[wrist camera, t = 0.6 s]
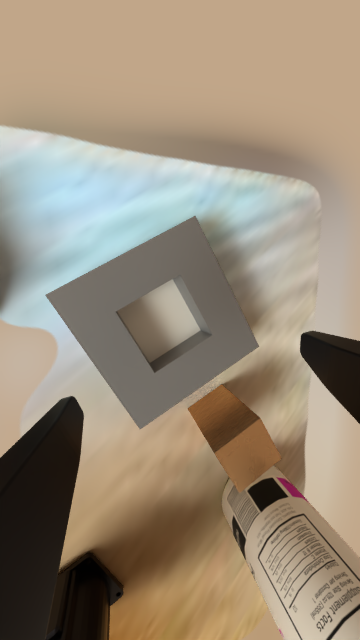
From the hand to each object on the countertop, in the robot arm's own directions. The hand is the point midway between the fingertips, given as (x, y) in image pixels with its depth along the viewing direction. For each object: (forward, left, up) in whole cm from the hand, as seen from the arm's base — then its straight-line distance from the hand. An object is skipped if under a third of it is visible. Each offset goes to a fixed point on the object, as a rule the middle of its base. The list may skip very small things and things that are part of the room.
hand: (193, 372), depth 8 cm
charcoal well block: (0, -1, -13) cm, 14 cm away
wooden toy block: (-12, -1, -14) cm, 18 cm away
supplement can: (-23, 0, -14) cm, 27 cm away
